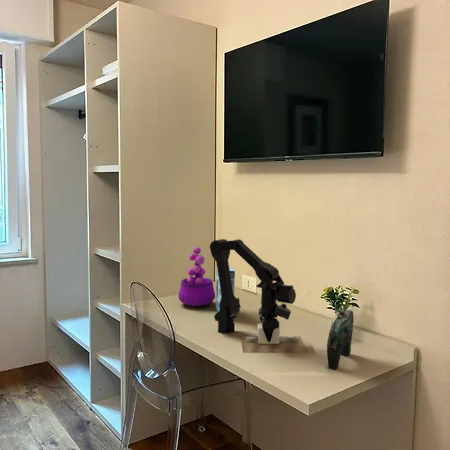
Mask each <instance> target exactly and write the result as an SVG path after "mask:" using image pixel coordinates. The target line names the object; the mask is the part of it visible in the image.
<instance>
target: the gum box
mask: <svg viewBox="0 0 450 450" xmlns="http://www.w3.org/2000/svg"><path fill="white" fill-rule="evenodd" d="M215 265H216V272H215V274H216V275H215V309H216V311H217V312H219V304H220V300H221V289H220V283H219V276H218V269H217V264H215ZM229 270H230V276H231V283H232V289H233V295H234V296H235V280H236V279H235V278H236V270H234V269H233V268H232V267H231V266H229Z"/></svg>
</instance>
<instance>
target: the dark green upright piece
mask: <svg viewBox="0 0 450 450" xmlns="http://www.w3.org/2000/svg"><path fill="white" fill-rule="evenodd" d="M342 308H343V309H342ZM337 311H338V313H337V316H336V318H335V320H334V321H333V322H332V323H331V325H330V329H329V332H328V336H327V337H328V338H327V344H326V355H327V366H328V369H329V370H335V371H336V370H338V369H339V365H340V360H341V356H343V357H349V355H351V351H352V340H353V331H354V329H353V328H354V327H353V326H354V318H355V317H354V311H353V310H351V309H347V307H346V305H345V304H343V303H342V304H341V305H340V310H339V309H338V310H337Z"/></svg>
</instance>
